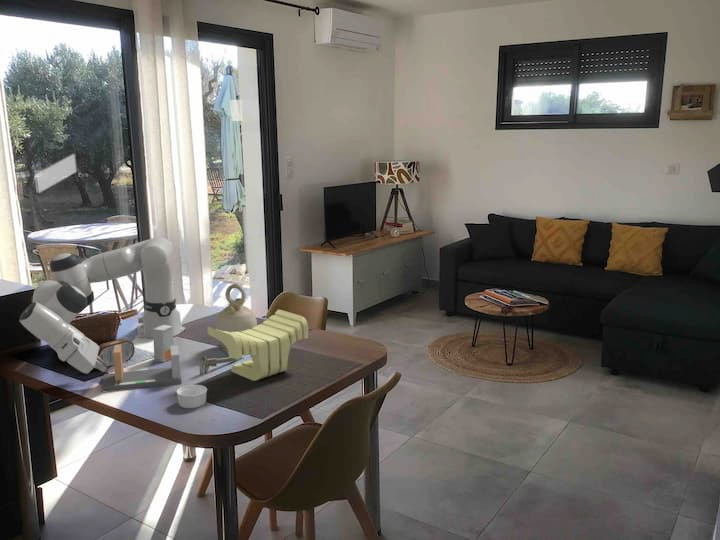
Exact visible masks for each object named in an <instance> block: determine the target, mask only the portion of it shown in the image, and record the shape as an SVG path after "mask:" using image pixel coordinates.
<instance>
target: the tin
mask: <svg viewBox="0 0 720 540" xmlns="http://www.w3.org/2000/svg"><path fill="white" fill-rule="evenodd" d="M120 344H121V347H122V361H123V362H124V361H127V362H129V361H130V360H131V359H132V358H133V357H134V355H135V344H134V343H133V342H132V341H131V340H129V339H128V338H120V339H119V338H118V339H115V340H112V341H108V342H105V343H101V344H99V345H98V346H99V347H100V348H99V352H98V356H99V357H100V358H101V359H102V361H103V362H104V363H105V364H107V368H109V367H108V366H111V367H113V366H112V365H114V355H113V352H114V346H115V345H120ZM128 360H129V361H128ZM124 363H125V362H124Z"/></svg>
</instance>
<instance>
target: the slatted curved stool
mask: <svg viewBox="0 0 720 540" xmlns="http://www.w3.org/2000/svg"><path fill="white" fill-rule="evenodd" d="M207 335H209V336H210V337H212V338H214V339H217V340H218V341H219V340H220V341H221V342H222V343H223V344H224V345H225V346H226V348H227V350H228V352H227V353H228V358H229V357H232V358H234V359H237V360H238V359H239V358H241V357H244V356H245V357H246V356H248V355H250V357H251V359H250V360H246V361H243V362H241V363H240V362H239V363H237V364H236V363H235V364H232V368H231V370H230V372H232V373H234V374H236V375H238V376H241V377H244V378H246V379H248V380H251V381H254V382H255V381H259V380H262V379H265V378H268V377H272V376H274V375H277V374H280V373H284V372H285V371H287V369H288V360H289V356H290V351H291V346H293V345H294V344H295V343H296V342H297V341H300V340H303V339H306V340H307V339H309V323H308V321H307V319H306V318H305V317H304V316H302V315H299V314H296V313H293V312H289V311H286V310H282V309H279V308H278V309H277V310H276V311H275V312H274V314H272V315H270V317H268V319H265V320H264V321H263V322H262V323H260V324H257V326H256V327H253V328H252V330H251V329H248V330H245V331H241V332H226V331H220V330H217V329H216V328H213V327H210V326H207Z"/></svg>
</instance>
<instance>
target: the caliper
mask: <svg viewBox="0 0 720 540" xmlns="http://www.w3.org/2000/svg"><path fill="white" fill-rule="evenodd" d="M244 359H245V358H244V356H242V357H241V358H239V359H238V360H237V359H234V358H232V357H229V356H228V357H223V358H222V357H221V358H216V357H215V358H208V357H207V356H204V357H203V356H201V359H200V361H199V375H202V376H203V375H204V374H205V375H208V372H209V369H210V367H217V366H218V364H224V363H225V364H226V363H232V362H238V361H242V360H244Z"/></svg>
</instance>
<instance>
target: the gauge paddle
mask: <svg viewBox="0 0 720 540" xmlns="http://www.w3.org/2000/svg"><path fill="white" fill-rule="evenodd" d="M113 355H114V373H115V381H116V383H117V384H120V382H122V381H123V372H124V363H123V361H122V347H121V344H120V345H115V346H114V352H113Z"/></svg>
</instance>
